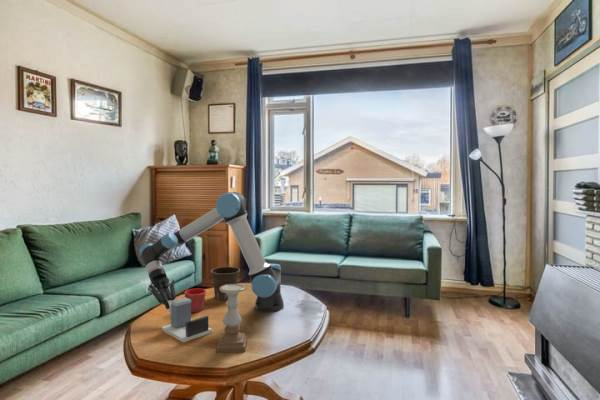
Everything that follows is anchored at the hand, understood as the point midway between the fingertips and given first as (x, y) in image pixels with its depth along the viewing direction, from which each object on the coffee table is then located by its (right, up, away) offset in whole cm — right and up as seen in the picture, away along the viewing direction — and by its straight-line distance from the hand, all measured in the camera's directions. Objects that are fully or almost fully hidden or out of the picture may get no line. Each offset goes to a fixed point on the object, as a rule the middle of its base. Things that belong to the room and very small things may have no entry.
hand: (173, 313), depth 164 cm
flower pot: (+4, -5, +20) cm, 21 cm away
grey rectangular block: (+5, -3, -4) cm, 7 cm away
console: (+9, -5, -7) cm, 12 cm away
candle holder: (+31, -6, -21) cm, 38 cm away
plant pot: (+16, -4, +40) cm, 43 cm away
